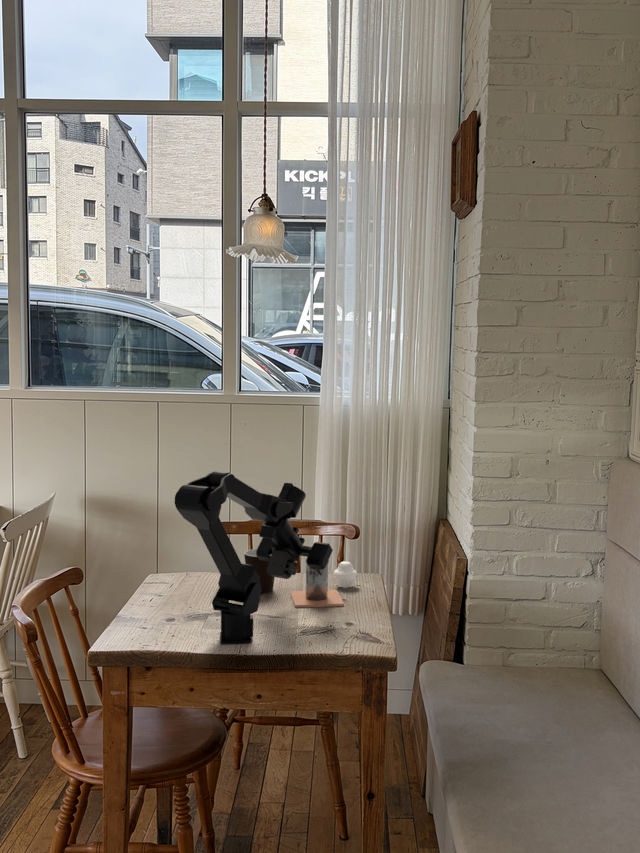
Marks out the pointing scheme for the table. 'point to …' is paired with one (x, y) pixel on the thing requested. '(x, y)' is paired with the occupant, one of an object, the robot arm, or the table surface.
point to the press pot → (316, 583)
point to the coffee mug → (260, 571)
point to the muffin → (345, 574)
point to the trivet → (302, 601)
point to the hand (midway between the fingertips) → (305, 571)
